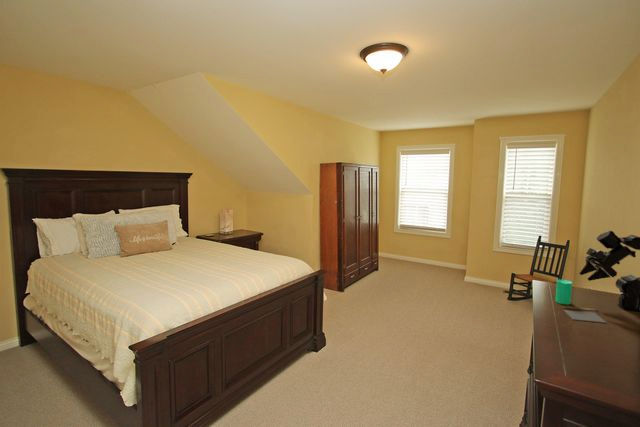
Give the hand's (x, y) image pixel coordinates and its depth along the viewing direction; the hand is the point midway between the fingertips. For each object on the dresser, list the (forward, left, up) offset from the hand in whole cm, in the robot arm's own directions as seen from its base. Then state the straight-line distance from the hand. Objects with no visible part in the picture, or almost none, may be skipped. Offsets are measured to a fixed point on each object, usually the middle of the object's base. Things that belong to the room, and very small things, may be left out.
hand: (584, 277), depth 158 cm
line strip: (+4, +7, -13) cm, 16 cm away
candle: (+8, 0, -13) cm, 16 cm away
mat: (+6, +17, -13) cm, 22 cm away
